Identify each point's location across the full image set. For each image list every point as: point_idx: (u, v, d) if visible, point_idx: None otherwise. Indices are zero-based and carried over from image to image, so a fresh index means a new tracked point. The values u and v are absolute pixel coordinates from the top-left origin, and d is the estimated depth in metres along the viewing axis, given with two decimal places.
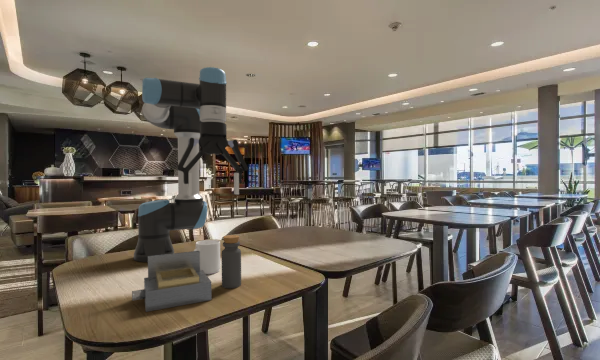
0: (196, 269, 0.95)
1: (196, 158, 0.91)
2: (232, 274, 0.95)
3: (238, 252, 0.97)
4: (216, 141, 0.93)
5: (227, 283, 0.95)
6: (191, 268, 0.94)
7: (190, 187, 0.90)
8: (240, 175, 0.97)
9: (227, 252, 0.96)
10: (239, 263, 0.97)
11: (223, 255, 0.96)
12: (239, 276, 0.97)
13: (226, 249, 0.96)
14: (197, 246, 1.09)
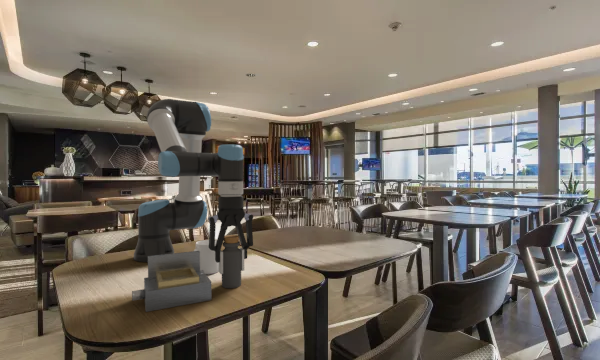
0: (196, 269, 0.95)
1: (222, 235, 0.95)
2: (232, 274, 0.95)
3: (238, 252, 0.97)
4: (235, 210, 0.97)
5: (227, 283, 0.95)
6: (191, 268, 0.94)
7: (222, 265, 0.95)
8: (245, 251, 0.99)
9: (227, 252, 0.96)
10: (239, 263, 0.97)
11: (223, 255, 0.96)
12: (239, 276, 0.97)
13: (226, 249, 0.96)
14: (197, 246, 1.09)
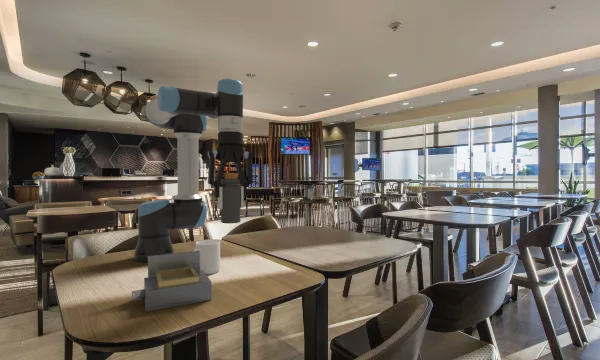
0: (196, 269, 0.95)
1: (221, 170, 0.95)
2: (231, 209, 0.95)
3: (237, 188, 0.96)
4: (234, 147, 0.97)
5: (226, 218, 0.95)
6: (191, 268, 0.94)
7: (221, 200, 0.95)
8: (245, 189, 0.99)
9: (226, 187, 0.95)
10: (238, 199, 0.97)
11: (222, 190, 0.96)
12: (238, 212, 0.97)
13: (225, 185, 0.96)
14: (197, 246, 1.09)
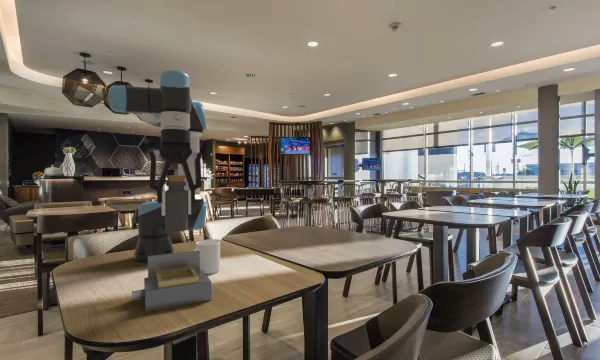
0: (196, 269, 0.95)
1: (164, 172, 0.85)
2: (175, 216, 0.85)
3: (183, 192, 0.86)
4: (179, 146, 0.87)
5: (170, 226, 0.85)
6: (191, 268, 0.94)
7: (164, 206, 0.85)
8: (193, 193, 0.89)
9: (170, 191, 0.85)
10: (184, 205, 0.87)
11: (166, 195, 0.85)
12: (184, 219, 0.87)
13: (169, 189, 0.86)
14: (197, 246, 1.09)
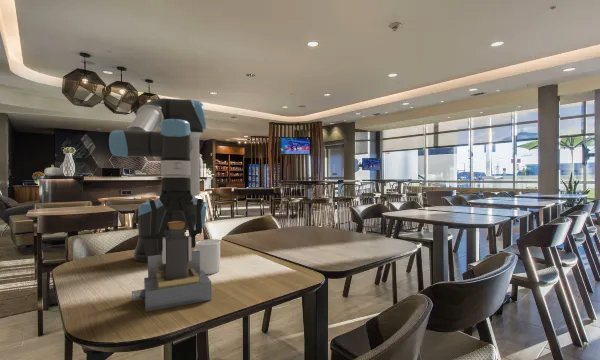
0: (196, 269, 0.95)
1: (164, 221, 0.85)
2: (175, 264, 0.85)
3: (183, 240, 0.86)
4: (180, 193, 0.87)
5: (170, 274, 0.85)
6: (191, 268, 0.94)
7: (164, 254, 0.85)
8: (193, 239, 0.89)
9: (170, 239, 0.85)
10: (185, 252, 0.87)
11: (166, 243, 0.86)
12: (185, 267, 0.87)
13: (170, 236, 0.86)
14: (197, 246, 1.09)
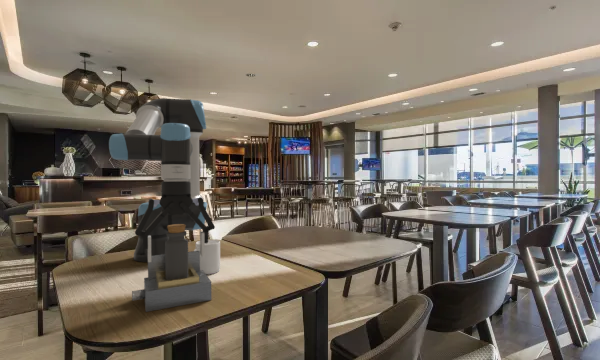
0: (196, 269, 0.95)
1: (156, 221, 0.84)
2: (175, 267, 0.85)
3: (183, 243, 0.86)
4: (179, 201, 0.87)
5: (170, 277, 0.85)
6: (191, 268, 0.94)
7: (149, 253, 0.84)
8: (206, 234, 0.91)
9: (170, 242, 0.85)
10: (185, 255, 0.87)
11: (166, 246, 0.86)
12: (185, 270, 0.87)
13: (170, 239, 0.86)
14: (197, 246, 1.09)
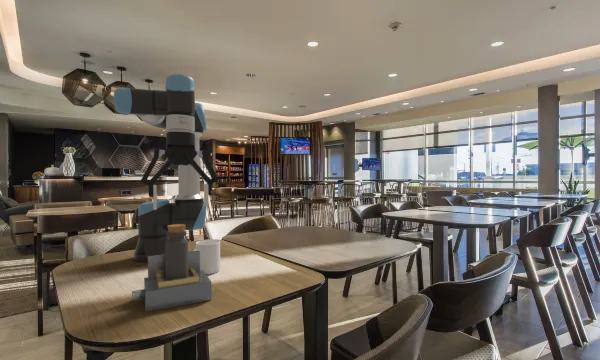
0: (196, 269, 0.95)
1: (161, 170, 0.87)
2: (175, 267, 0.85)
3: (183, 243, 0.86)
4: (183, 152, 0.89)
5: (170, 277, 0.85)
6: (191, 268, 0.94)
7: (155, 200, 0.86)
8: (210, 187, 0.93)
9: (170, 242, 0.85)
10: (185, 255, 0.87)
11: (166, 246, 0.86)
12: (185, 270, 0.87)
13: (170, 239, 0.86)
14: (197, 246, 1.09)
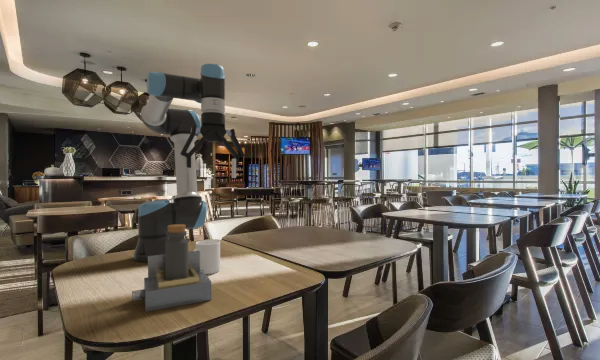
0: (196, 269, 0.95)
1: (198, 145, 1.02)
2: (175, 267, 0.85)
3: (183, 243, 0.87)
4: (215, 130, 1.04)
5: (170, 277, 0.85)
6: (191, 268, 0.94)
7: (192, 170, 1.01)
8: (237, 161, 1.08)
9: (170, 242, 0.85)
10: (185, 255, 0.87)
11: (166, 246, 0.86)
12: (185, 270, 0.87)
13: (170, 239, 0.86)
14: (197, 246, 1.09)
